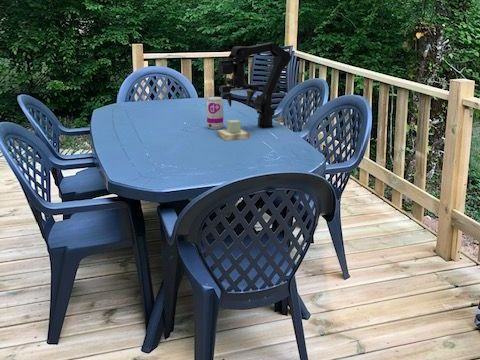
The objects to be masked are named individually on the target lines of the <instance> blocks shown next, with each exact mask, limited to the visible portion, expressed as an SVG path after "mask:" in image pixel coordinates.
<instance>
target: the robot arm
mask: <svg viewBox="0 0 480 360" xmlns="http://www.w3.org/2000/svg"><path fill="white" fill-rule="evenodd" d="M267 52H269V53H270V55H272V57H273V59H272V61H273V67H272V69H271V71H270V74H269V76H268V78H267V82H266V84H265V86H264V88H263V91H262V93H261V94H260V95H259V94H257V95H256V98H255V99H254V101H253V103H254V104H253V107H254V110H255V111H256V113H257V114H258V117H257V127H259V128H261V129H265V128H274V127H275V126H274V125H273V116H274V115H275V113H276V111H275V110H274V109H273V108H272V104H273V103H272V101H273V99H272V96H273V94H274V92H275V90H276V89H275V88H276V87H277V85H278V81H279V79H280V78H281V77H280V76H281V75H282V72H283V70H284V69H286V68H287V66H288V65H289V63H290V62H291V59H292V55H291V53H290V52H289V51H286V50H285V49H284V48H282V47H281V46H279V44H277V43H276V42H273V41H268V42H265V43H259V44H257V45H256V44H255V45H249V46H236V45H235V46H233V47H232V48H231V51H230V53H229V55H228V56H227V58H226V59H220V60H218V61H219V62H218V64H217V68H216V70H217V73H218V75H219V76H226V75H232V76H231V78H230V77H225V79H224V80H225V81H224V82H225V84H224V85H219V88H218V90H219V91H218V92H219V93H221V94H222V95H223V94H224V95H225V98H226V101H227V103H228V106H229V107H232V92H231V91H246V93H247V95H246V105H247V106H249V105H250V103H251V101H252V98H253V97H254V94H256V93H257V92H258V91H260V85H258V84H257V83H247V84H246V79H247V76H246V65H247V64H249V63H250V62H249V61H248V60H247V58H249V57H251V56H253V55H258V54H263V53H267Z"/></svg>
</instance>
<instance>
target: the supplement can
mask: <svg viewBox="0 0 480 360" xmlns="http://www.w3.org/2000/svg"><path fill="white" fill-rule="evenodd" d="M206 127H207V128H208V129H210V130H222V129H223V128H224V100H223V98H222V97H221V96H210V97H207V100H206Z"/></svg>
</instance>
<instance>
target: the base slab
mask: <svg viewBox="0 0 480 360" xmlns="http://www.w3.org/2000/svg"><path fill="white" fill-rule="evenodd" d="M216 136H217V137H219V138H220V139H222V140H223V141H225V142H228V141H229V140H230V141H240V140H247V139H249V138H250V137H251V133H250V132H248V131H246V130H245V129H242V128H241V132H238V133H230V132H228V131H227V128H226V129H216Z"/></svg>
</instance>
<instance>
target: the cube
mask: <svg viewBox="0 0 480 360" xmlns="http://www.w3.org/2000/svg"><path fill="white" fill-rule="evenodd" d="M241 122H242V121H240V120H239V119H231V120H229V119H228V120H226V129H227V131H228V132H230V133H238V132H241V129H242V125H241Z"/></svg>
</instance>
